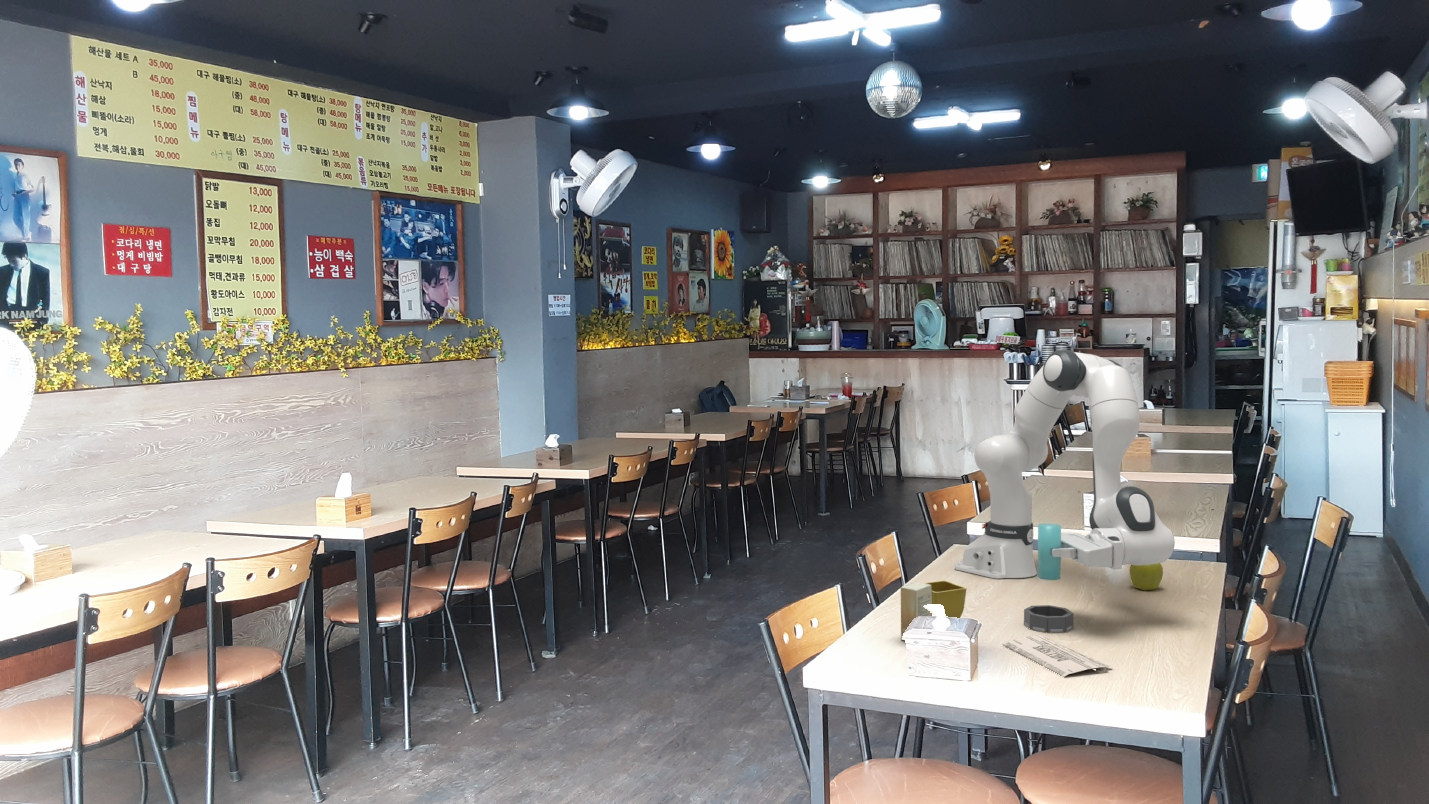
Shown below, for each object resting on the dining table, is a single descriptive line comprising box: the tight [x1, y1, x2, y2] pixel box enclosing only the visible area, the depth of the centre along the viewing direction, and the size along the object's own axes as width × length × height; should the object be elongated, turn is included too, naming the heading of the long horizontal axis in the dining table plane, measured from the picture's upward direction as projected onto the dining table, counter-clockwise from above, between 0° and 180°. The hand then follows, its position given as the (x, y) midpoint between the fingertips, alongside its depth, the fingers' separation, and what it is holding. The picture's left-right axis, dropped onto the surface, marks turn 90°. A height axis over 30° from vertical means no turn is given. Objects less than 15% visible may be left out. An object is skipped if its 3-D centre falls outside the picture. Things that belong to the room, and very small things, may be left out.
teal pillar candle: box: [1037, 523, 1062, 581], centre depth 238 cm, size 5×5×12 cm
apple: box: [1129, 563, 1164, 591], centre depth 271 cm, size 8×8×10 cm
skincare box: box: [900, 581, 932, 639], centre depth 230 cm, size 6×4×12 cm
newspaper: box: [1002, 634, 1113, 678], centre depth 218 cm, size 23×12×2 cm, turn 17°
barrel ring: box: [1023, 604, 1074, 634], centre depth 239 cm, size 10×10×4 cm
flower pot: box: [923, 580, 967, 619], centre depth 242 cm, size 9×9×9 cm
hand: (1045, 549), depth 238 cm, fingers closed on teal pillar candle, 5 cm apart
